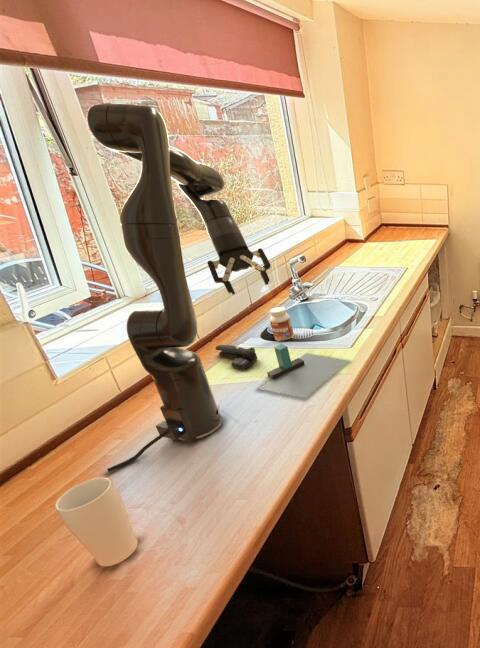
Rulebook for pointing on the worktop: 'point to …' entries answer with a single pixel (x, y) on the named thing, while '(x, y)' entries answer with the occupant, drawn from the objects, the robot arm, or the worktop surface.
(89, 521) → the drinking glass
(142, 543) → the worktop surface
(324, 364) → the cloth mat
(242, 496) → the worktop surface
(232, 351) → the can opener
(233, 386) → the worktop surface
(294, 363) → the wiper
